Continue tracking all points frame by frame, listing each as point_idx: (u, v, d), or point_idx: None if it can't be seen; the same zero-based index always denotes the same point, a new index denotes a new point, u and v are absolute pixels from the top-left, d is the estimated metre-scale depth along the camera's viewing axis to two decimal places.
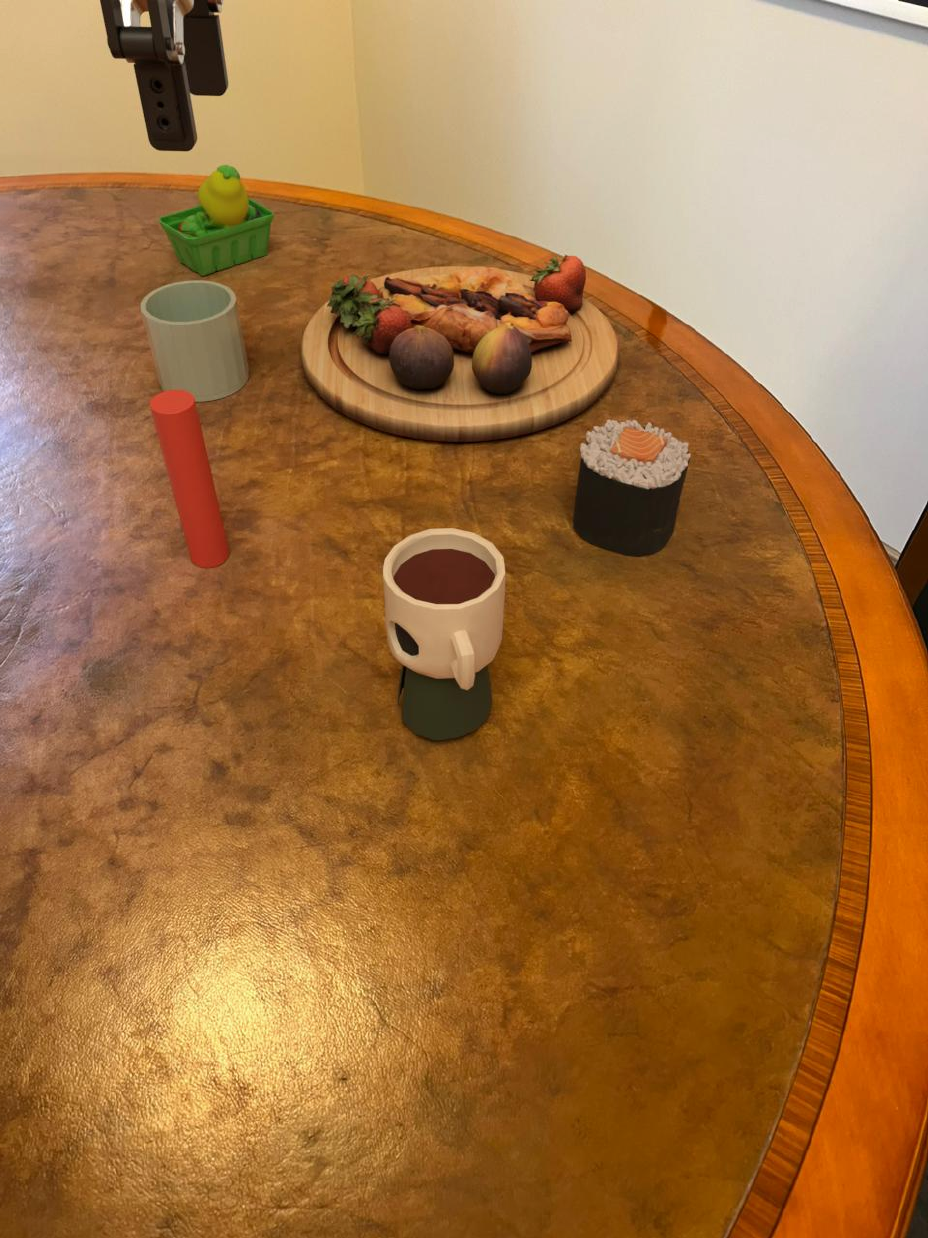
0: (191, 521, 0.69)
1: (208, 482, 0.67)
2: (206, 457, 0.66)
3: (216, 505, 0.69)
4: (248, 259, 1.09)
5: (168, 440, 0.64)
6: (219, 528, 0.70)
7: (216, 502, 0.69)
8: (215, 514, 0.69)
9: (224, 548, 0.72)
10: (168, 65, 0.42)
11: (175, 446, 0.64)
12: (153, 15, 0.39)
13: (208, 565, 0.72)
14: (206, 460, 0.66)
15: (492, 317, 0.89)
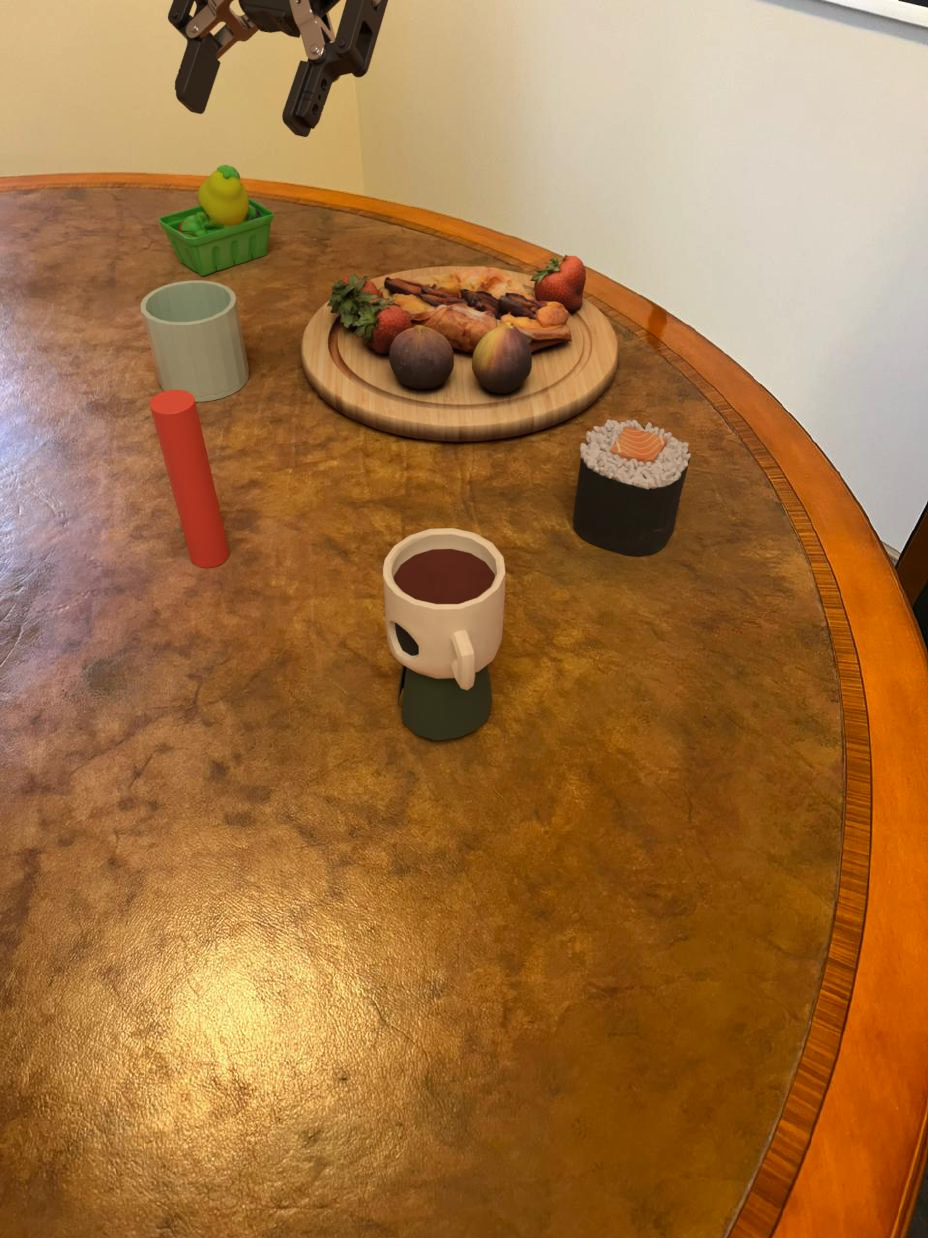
0: (191, 521, 0.69)
1: (208, 482, 0.67)
2: (206, 457, 0.66)
3: (216, 505, 0.69)
4: (248, 259, 1.09)
5: (168, 440, 0.64)
6: (219, 528, 0.70)
7: (216, 502, 0.69)
8: (215, 514, 0.69)
9: (224, 548, 0.72)
10: (334, 78, 0.58)
11: (175, 446, 0.64)
12: (371, 48, 0.58)
13: (208, 565, 0.72)
14: (206, 460, 0.66)
15: (492, 317, 0.89)
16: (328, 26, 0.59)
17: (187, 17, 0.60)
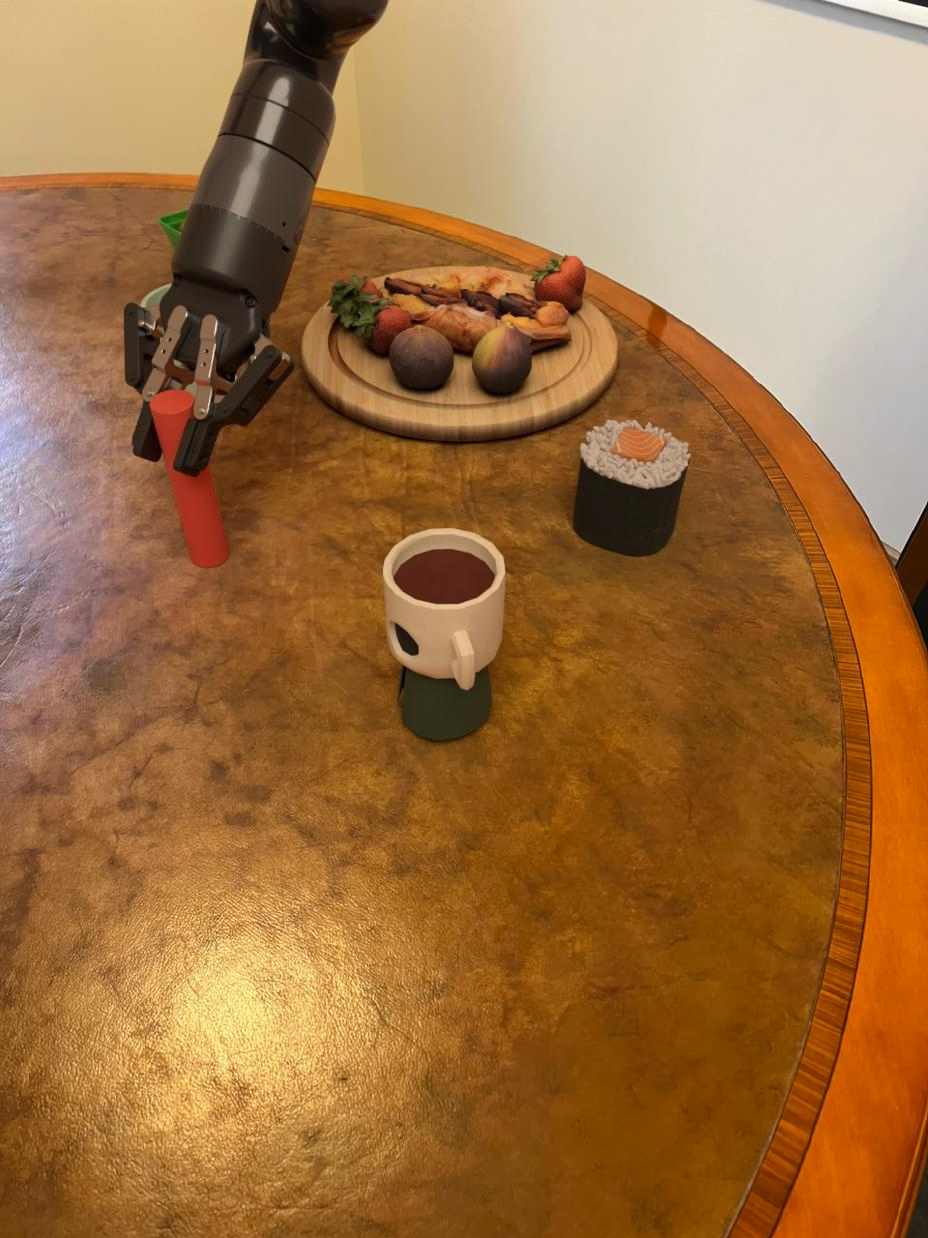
0: (191, 521, 0.69)
1: (208, 482, 0.67)
2: None
3: (216, 505, 0.69)
4: None
5: (168, 440, 0.64)
6: (219, 528, 0.70)
7: (216, 502, 0.69)
8: (215, 514, 0.69)
9: (224, 548, 0.72)
10: (220, 427, 0.64)
11: (175, 446, 0.64)
12: (257, 410, 0.64)
13: (208, 565, 0.72)
14: None
15: (492, 317, 0.89)
16: (235, 376, 0.65)
17: (142, 378, 0.65)
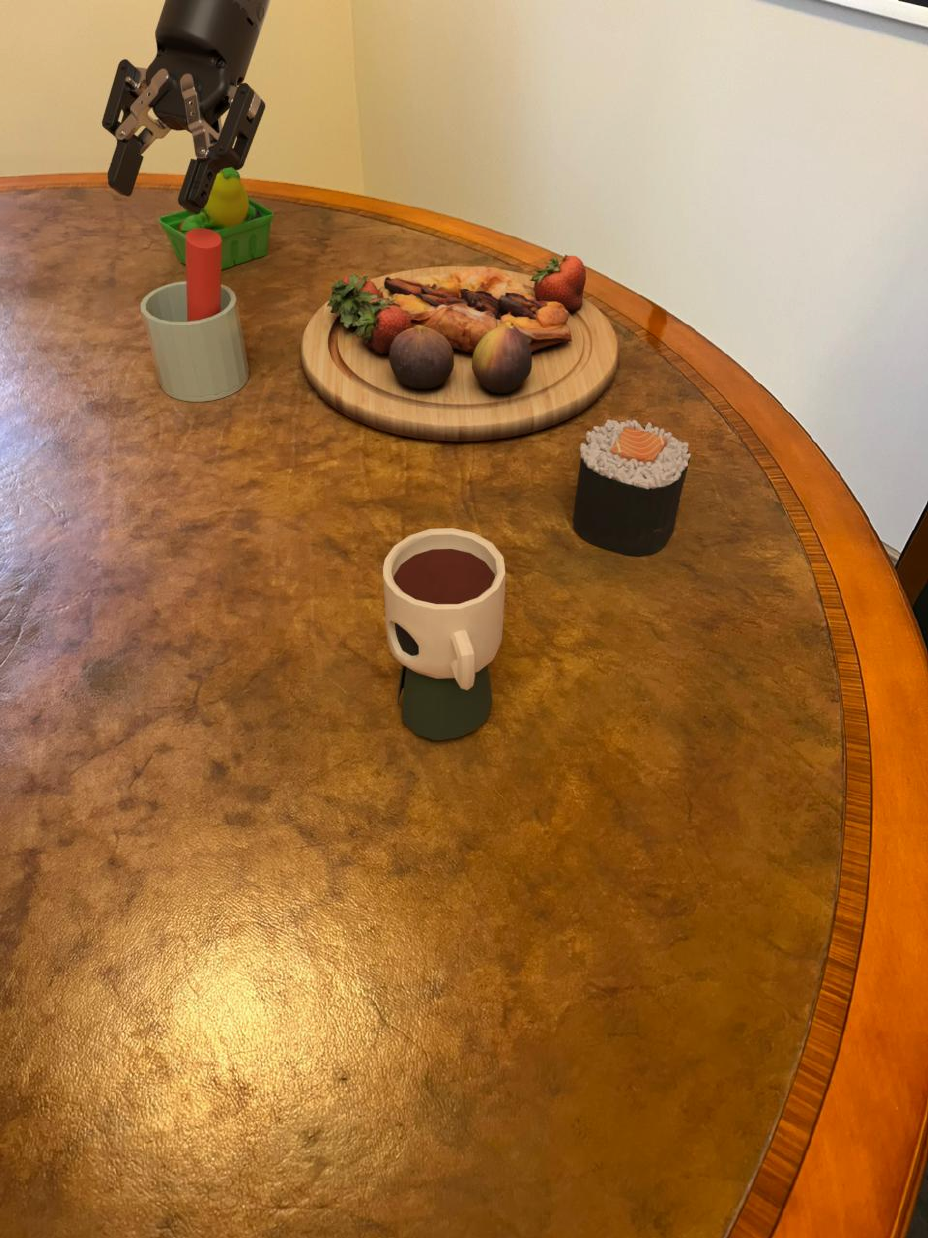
0: None
1: (217, 308, 0.85)
2: (220, 288, 0.84)
3: None
4: (248, 259, 1.09)
5: (195, 268, 0.81)
6: None
7: None
8: None
9: None
10: (218, 170, 0.77)
11: (199, 274, 0.81)
12: (247, 149, 0.76)
13: None
14: (220, 290, 0.84)
15: (492, 317, 0.89)
16: (218, 129, 0.77)
17: (116, 123, 0.79)
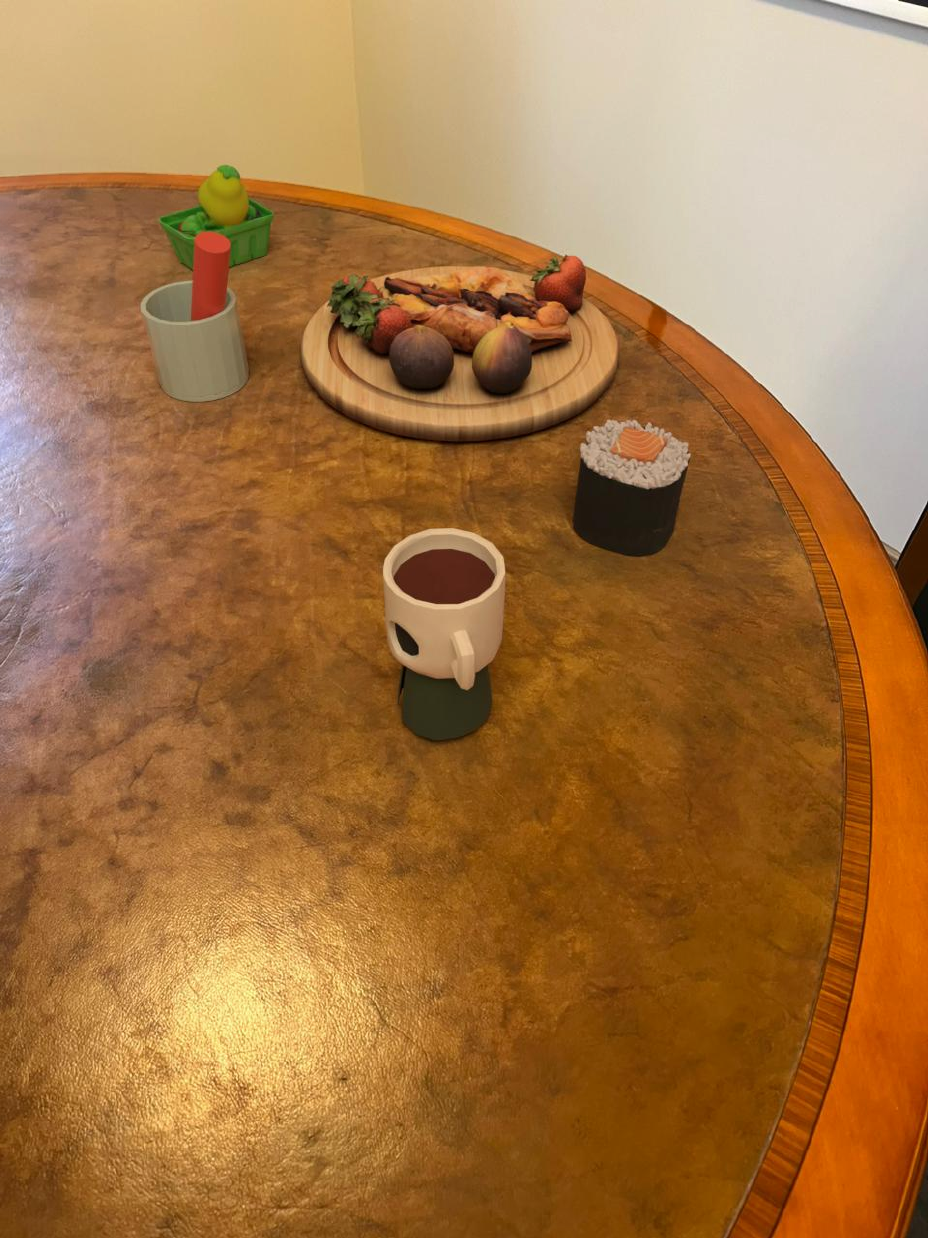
0: None
1: None
2: (226, 291, 0.84)
3: None
4: (248, 259, 1.09)
5: (203, 272, 0.81)
6: None
7: None
8: None
9: None
10: None
11: (207, 278, 0.81)
12: None
13: None
14: (226, 294, 0.84)
15: (492, 317, 0.89)
16: None
17: None
